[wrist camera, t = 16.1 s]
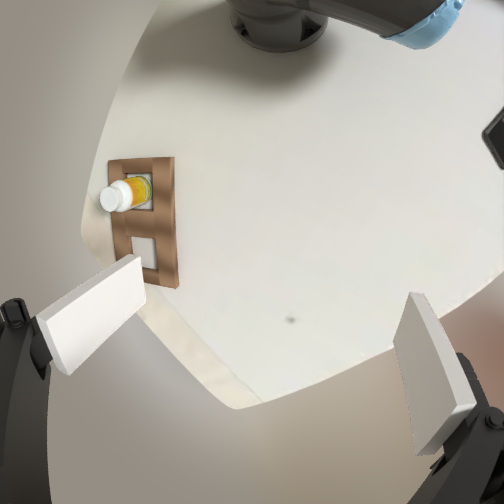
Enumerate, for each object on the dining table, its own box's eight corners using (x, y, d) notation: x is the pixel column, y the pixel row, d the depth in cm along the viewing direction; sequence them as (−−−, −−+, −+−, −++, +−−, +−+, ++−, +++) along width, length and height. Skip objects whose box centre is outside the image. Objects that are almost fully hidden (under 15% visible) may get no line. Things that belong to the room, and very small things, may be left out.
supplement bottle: (140, 209, 49) (107, 222, 41) (126, 187, 48) (92, 196, 40) (158, 192, 47) (125, 203, 38) (143, 169, 46) (108, 176, 38)
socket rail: (113, 160, 47) (108, 160, 46) (174, 156, 44) (169, 157, 43) (123, 274, 56) (119, 276, 54) (179, 285, 53) (175, 288, 52)
